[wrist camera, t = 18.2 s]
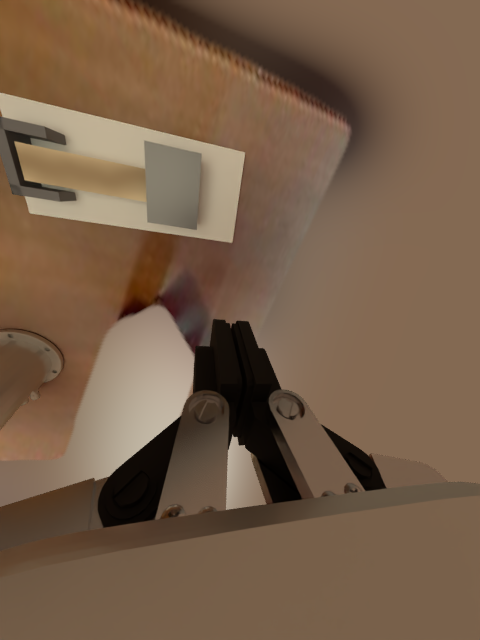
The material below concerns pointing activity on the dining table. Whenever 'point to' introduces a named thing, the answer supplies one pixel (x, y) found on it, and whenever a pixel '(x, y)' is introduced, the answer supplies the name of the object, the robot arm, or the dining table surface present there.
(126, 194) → the slat
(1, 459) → the dining table surface
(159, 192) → the cap
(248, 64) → the dining table surface
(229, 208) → the base
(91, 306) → the dining table surface
